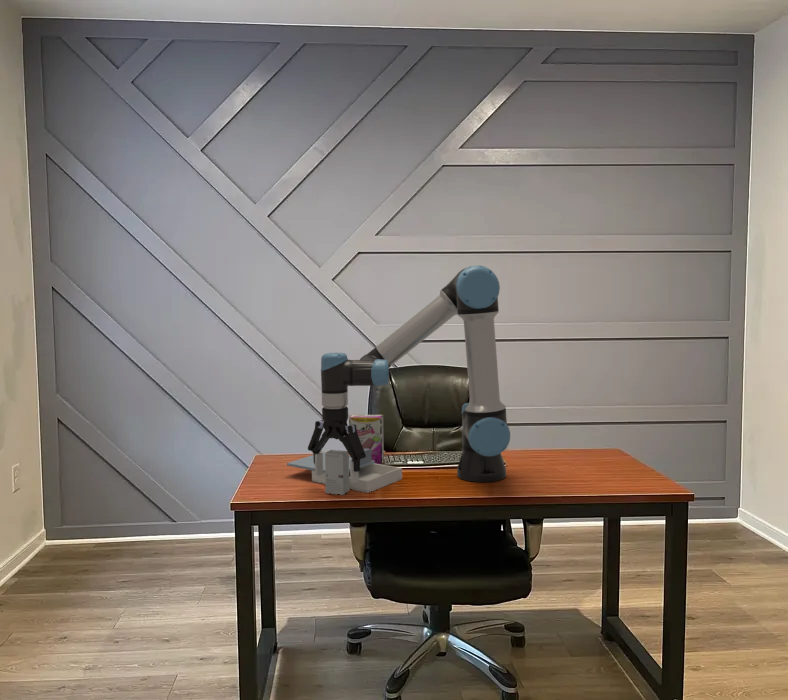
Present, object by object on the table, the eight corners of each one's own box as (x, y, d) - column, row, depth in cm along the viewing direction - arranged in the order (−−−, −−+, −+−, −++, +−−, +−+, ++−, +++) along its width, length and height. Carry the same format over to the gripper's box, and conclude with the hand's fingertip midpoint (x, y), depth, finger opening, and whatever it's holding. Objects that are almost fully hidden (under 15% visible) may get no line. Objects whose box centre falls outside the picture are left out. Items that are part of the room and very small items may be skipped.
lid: (374, 463, 221) (374, 448, 220) (339, 475, 207) (338, 459, 207) (323, 454, 234) (322, 440, 234) (286, 465, 220) (286, 450, 220)
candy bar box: (349, 465, 233) (348, 417, 231) (352, 461, 238) (350, 414, 236) (382, 465, 232) (381, 417, 230) (384, 461, 237) (383, 414, 235)
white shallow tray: (402, 479, 215) (401, 467, 215) (367, 493, 201) (367, 481, 201) (347, 469, 228) (347, 458, 228) (312, 481, 214) (311, 470, 214)
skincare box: (324, 493, 202) (323, 452, 201) (331, 489, 206) (330, 449, 205) (344, 495, 200) (342, 454, 199) (350, 491, 204) (349, 450, 203)
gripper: (377, 408, 196) (378, 482, 198) (312, 400, 211) (313, 469, 213) (360, 412, 190) (361, 488, 192) (294, 404, 205) (296, 474, 207)
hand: (336, 478), depth 203 cm, fingers open, 13 cm apart
